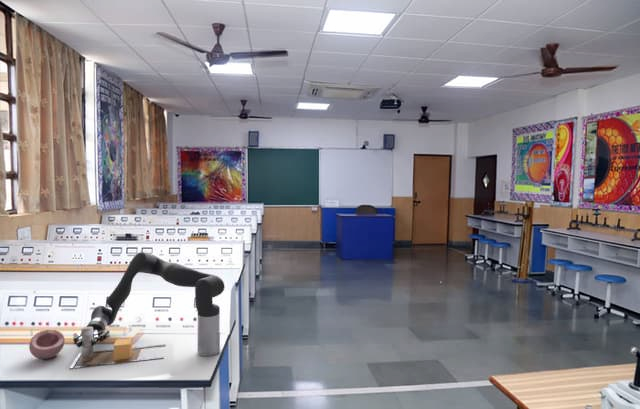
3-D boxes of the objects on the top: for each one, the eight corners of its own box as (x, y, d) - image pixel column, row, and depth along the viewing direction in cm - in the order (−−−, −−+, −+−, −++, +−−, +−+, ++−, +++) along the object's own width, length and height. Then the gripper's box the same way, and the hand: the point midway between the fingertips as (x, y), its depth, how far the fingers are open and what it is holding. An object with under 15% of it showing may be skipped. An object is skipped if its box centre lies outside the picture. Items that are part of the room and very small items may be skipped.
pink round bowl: (35, 367, 153) (34, 339, 152) (25, 358, 160) (24, 331, 159) (69, 356, 162) (69, 330, 162) (58, 348, 170) (57, 323, 169)
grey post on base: (140, 351, 168) (140, 319, 167) (137, 362, 158) (137, 328, 157) (82, 358, 161) (82, 324, 160) (75, 369, 151) (75, 334, 150)
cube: (132, 351, 165) (132, 338, 164) (130, 358, 159) (130, 344, 159) (116, 353, 163) (116, 339, 163) (113, 360, 157) (113, 345, 157)
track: (165, 348, 173) (165, 344, 173) (163, 362, 160) (163, 357, 160) (78, 357, 162) (78, 353, 162) (69, 373, 149) (69, 368, 149)
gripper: (77, 321, 168) (64, 337, 151) (113, 318, 172) (105, 333, 156) (77, 338, 168) (65, 355, 152) (114, 335, 173) (105, 351, 156)
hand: (85, 344), depth 154 cm, fingers closed on grey post on base, 4 cm apart
